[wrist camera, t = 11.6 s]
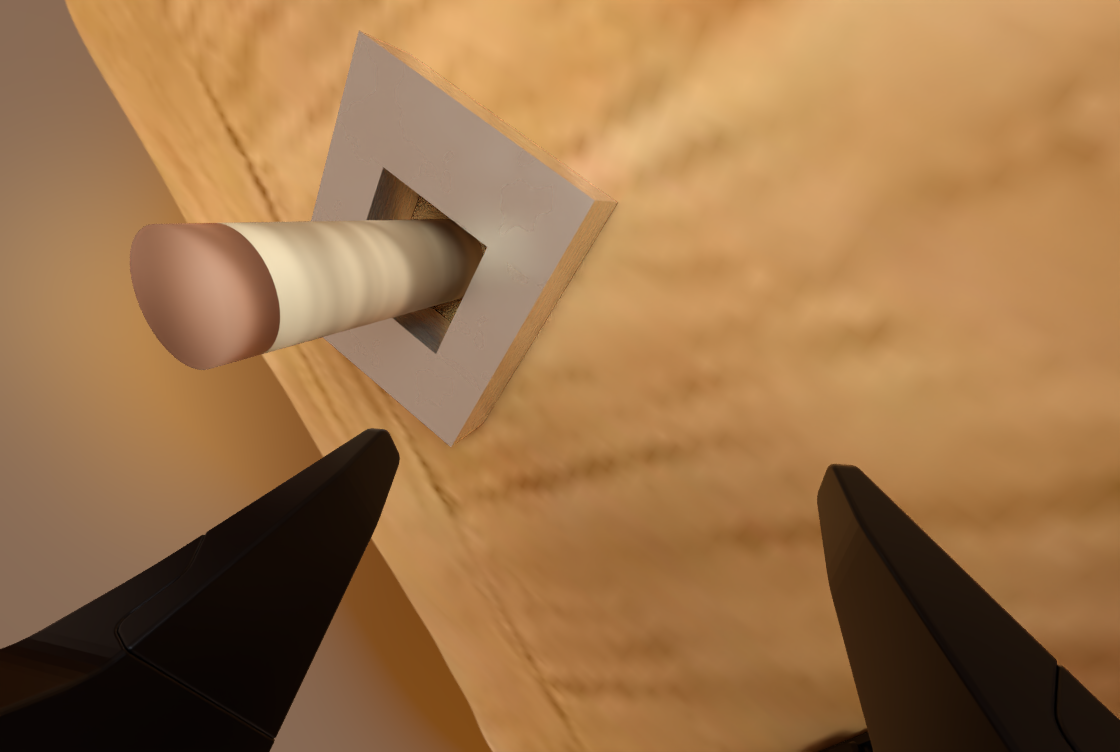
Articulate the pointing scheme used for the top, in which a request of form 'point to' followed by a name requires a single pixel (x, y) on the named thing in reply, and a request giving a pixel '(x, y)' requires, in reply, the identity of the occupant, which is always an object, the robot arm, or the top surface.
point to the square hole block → (474, 204)
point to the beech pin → (290, 280)
